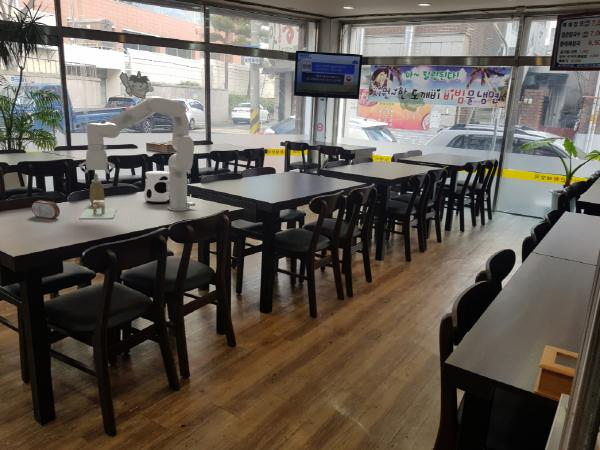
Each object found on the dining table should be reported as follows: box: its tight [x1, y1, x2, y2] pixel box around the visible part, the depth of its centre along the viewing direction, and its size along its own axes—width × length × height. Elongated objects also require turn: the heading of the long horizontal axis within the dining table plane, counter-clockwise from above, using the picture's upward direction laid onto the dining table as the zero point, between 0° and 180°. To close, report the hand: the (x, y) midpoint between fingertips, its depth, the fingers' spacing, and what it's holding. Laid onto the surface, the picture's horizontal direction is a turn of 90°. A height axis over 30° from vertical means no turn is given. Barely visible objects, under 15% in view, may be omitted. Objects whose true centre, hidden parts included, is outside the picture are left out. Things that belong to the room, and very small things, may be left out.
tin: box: [31, 200, 61, 220], centre depth 242 cm, size 15×3×8 cm, turn 74°
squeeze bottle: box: [89, 173, 106, 206], centre depth 276 cm, size 8×8×18 cm
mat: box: [78, 208, 118, 220], centre depth 256 cm, size 16×22×1 cm
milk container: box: [143, 170, 170, 204], centre depth 293 cm, size 17×17×18 cm
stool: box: [92, 199, 106, 214], centre depth 255 cm, size 5×5×6 cm
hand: (97, 180), depth 252 cm, fingers open, 9 cm apart
